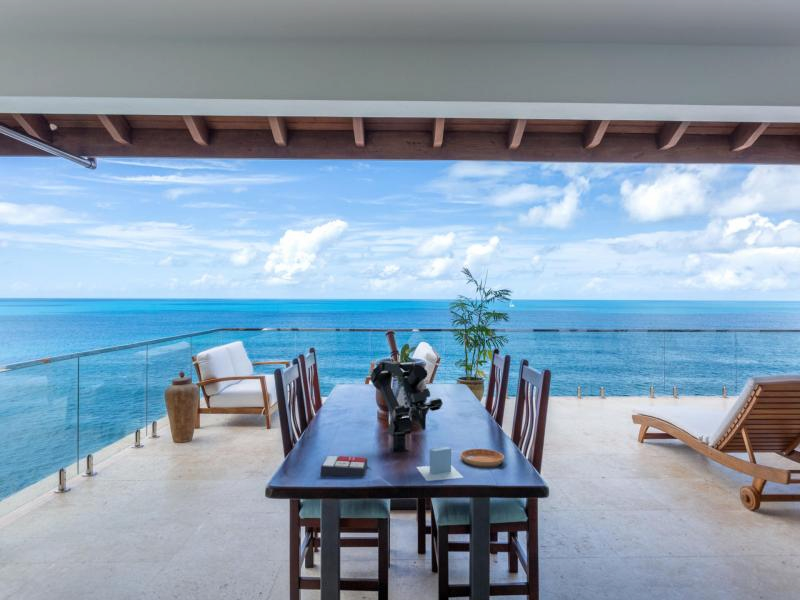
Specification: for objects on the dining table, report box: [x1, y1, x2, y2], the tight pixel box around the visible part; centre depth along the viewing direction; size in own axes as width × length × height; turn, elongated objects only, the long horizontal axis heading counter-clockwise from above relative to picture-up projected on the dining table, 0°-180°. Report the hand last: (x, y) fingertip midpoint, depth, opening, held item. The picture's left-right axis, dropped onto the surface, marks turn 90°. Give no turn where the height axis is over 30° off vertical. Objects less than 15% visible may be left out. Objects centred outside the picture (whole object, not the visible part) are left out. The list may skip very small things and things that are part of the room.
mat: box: [416, 464, 464, 482], centre depth 158 cm, size 14×13×1 cm
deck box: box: [429, 446, 452, 475], centre depth 159 cm, size 3×7×8 cm, turn 118°
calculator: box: [320, 455, 368, 478], centre depth 162 cm, size 11×4×15 cm
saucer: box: [460, 448, 505, 468], centre depth 171 cm, size 16×16×3 cm
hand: (424, 429), depth 168 cm, fingers closed
